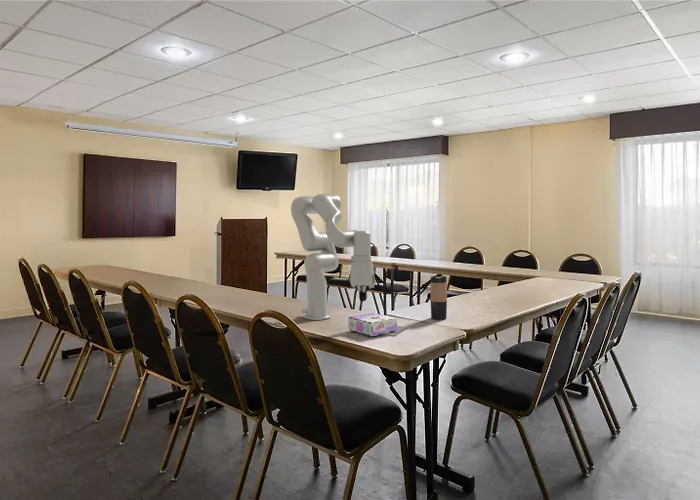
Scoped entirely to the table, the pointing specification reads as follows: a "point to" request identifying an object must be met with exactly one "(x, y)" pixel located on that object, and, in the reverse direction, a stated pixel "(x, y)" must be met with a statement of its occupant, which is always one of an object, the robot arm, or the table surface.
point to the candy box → (372, 324)
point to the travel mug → (438, 297)
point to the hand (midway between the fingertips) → (363, 300)
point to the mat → (399, 330)
